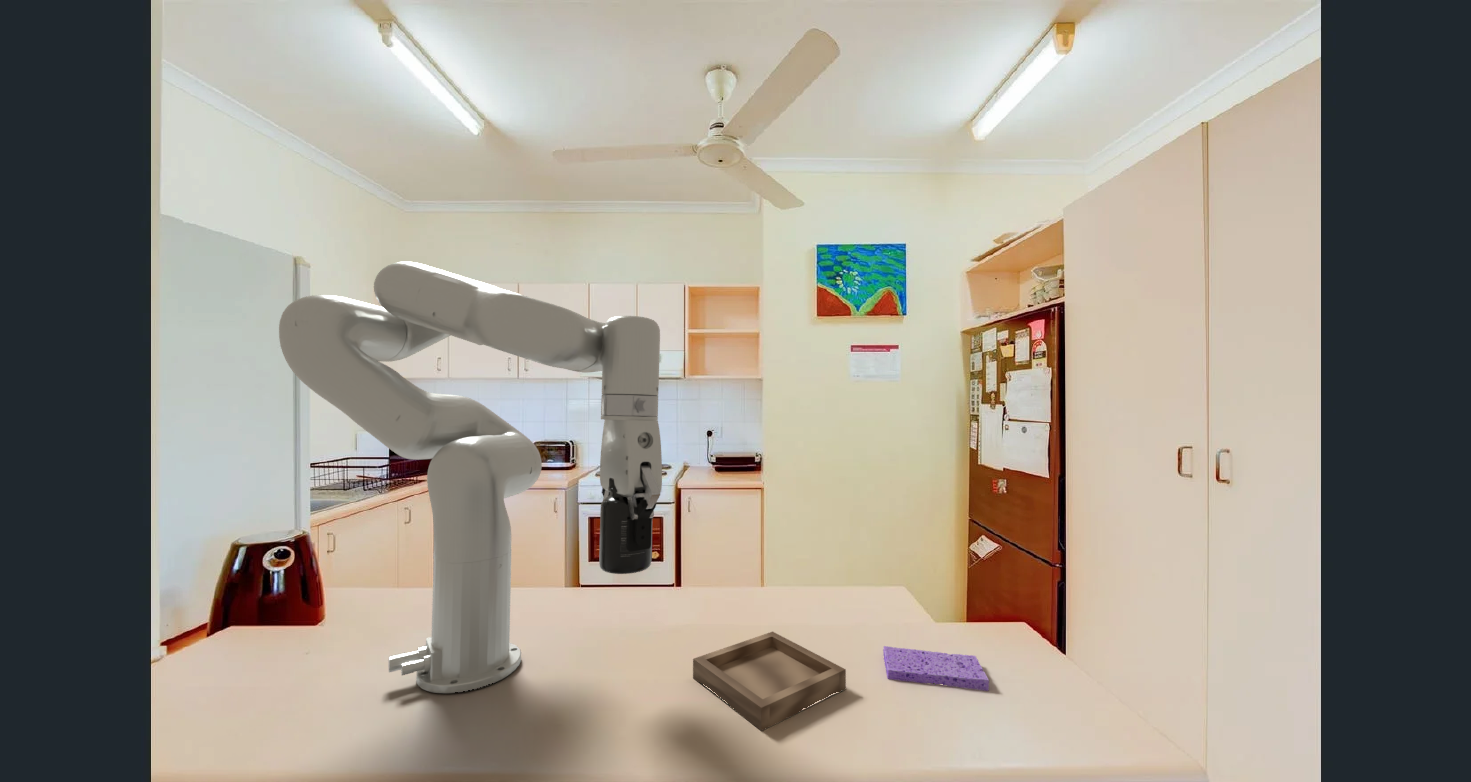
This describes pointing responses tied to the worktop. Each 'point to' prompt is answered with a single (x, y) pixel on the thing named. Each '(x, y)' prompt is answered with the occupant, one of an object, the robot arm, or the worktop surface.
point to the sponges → (935, 668)
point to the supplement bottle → (619, 536)
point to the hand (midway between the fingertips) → (625, 542)
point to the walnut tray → (768, 678)
